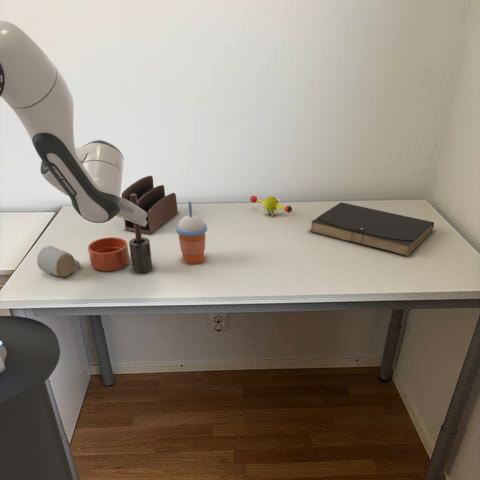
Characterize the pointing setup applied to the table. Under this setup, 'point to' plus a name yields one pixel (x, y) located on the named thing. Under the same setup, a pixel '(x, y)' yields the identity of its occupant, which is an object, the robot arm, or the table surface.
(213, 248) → the table surface
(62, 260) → the ceramic mug
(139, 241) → the stick
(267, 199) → the toy figure
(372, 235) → the black book
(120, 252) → the bowl
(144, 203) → the letter holder
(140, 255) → the tube
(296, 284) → the table surface
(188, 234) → the cup with straw
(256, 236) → the table surface
